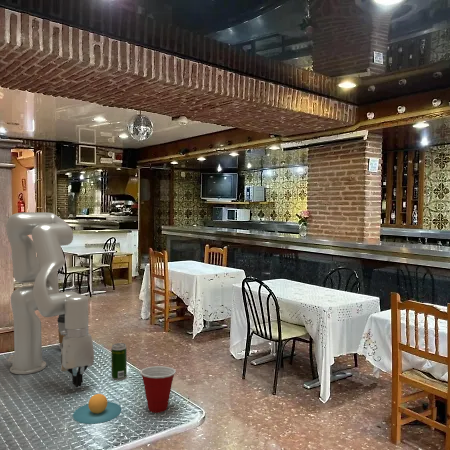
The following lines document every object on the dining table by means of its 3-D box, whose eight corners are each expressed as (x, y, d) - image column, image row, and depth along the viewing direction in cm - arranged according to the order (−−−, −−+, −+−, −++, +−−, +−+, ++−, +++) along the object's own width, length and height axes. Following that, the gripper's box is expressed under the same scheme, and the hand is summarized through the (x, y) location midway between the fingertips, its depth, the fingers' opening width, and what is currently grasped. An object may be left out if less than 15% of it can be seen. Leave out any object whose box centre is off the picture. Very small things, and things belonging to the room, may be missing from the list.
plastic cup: (181, 403, 136) (181, 366, 136) (166, 419, 126) (166, 378, 125) (151, 398, 140) (151, 361, 139) (133, 413, 129) (133, 374, 129)
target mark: (62, 420, 125) (62, 419, 125) (90, 399, 139) (90, 399, 139) (105, 426, 121) (105, 426, 121) (129, 405, 135) (129, 404, 135)
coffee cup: (60, 346, 192) (60, 313, 192) (80, 345, 193) (79, 312, 193) (55, 352, 184) (54, 317, 184) (75, 352, 185) (74, 317, 184)
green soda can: (129, 378, 156) (129, 345, 156) (115, 381, 153) (115, 348, 153) (122, 373, 161) (122, 341, 160) (109, 377, 157) (108, 344, 157)
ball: (82, 399, 130) (88, 412, 125) (97, 386, 131) (103, 399, 127) (92, 407, 133) (98, 420, 129) (107, 395, 134) (113, 407, 130)
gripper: (56, 338, 138) (57, 395, 139) (102, 331, 147) (102, 384, 148) (50, 333, 144) (51, 387, 145) (95, 326, 153) (95, 377, 154)
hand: (77, 385), depth 146 cm, fingers closed
